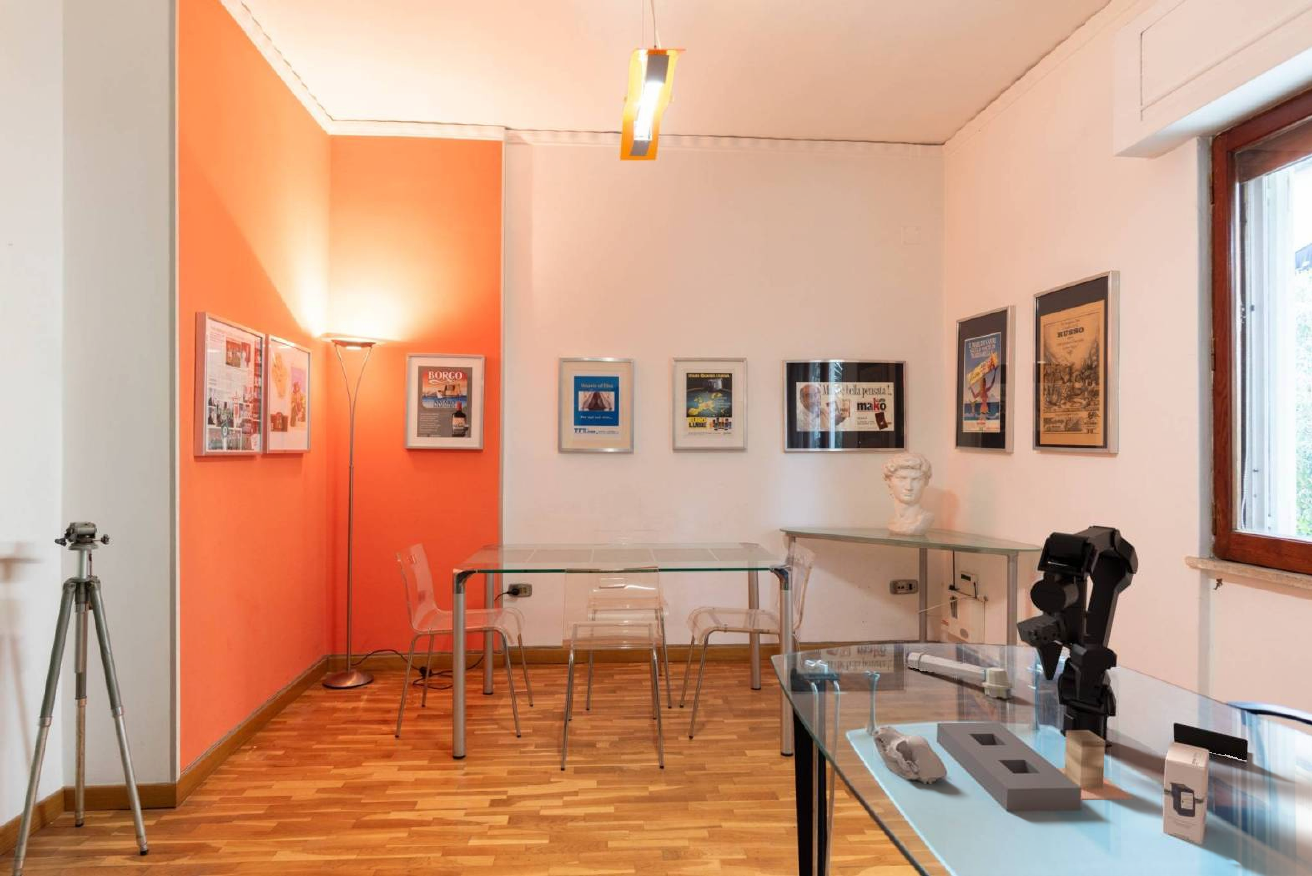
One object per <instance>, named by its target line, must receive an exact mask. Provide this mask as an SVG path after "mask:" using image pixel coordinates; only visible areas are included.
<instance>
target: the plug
mask: <svg viewBox="0 0 1312 876" xmlns="http://www.w3.org/2000/svg"><path fill="white" fill-rule="evenodd" d="M1105 750H1106V748H1105V740H1103V739H1102V738H1100V737H1099V736H1097V735H1096V734H1094V733H1093V732H1091V731H1089V730H1066V736H1065V759H1064V761H1065V762H1064V768H1065V775H1066V776H1067V777H1068V778H1070V779H1071V780H1072V781H1073V782H1075V783H1076V784H1077V785H1079V786H1080V787H1081V789H1095V788H1103V776H1104V775H1105V774H1104V773H1105V772H1104V771H1105V770H1104V769H1105Z"/></svg>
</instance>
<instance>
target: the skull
mask: <svg viewBox="0 0 1312 876" xmlns="http://www.w3.org/2000/svg"><path fill="white" fill-rule="evenodd" d="M872 734H873V735H872V736H873V741H874V744H875V747H876V750H877V752H878V754H879V755H880V758H881V759H882V761H883V762H884V764H885V765H886V767H887V768H888V769H889V770H890V771H891V772H892V773H894V774H896V775H898V776H899V777H901V778H903V779H905V780H908V781H909V780H914V781H915V780H916V781H920V782H921V783H923V784H925V785H926V784H927V783H928V784H929V785H932V784H933V782H936V781H938V779H940V778H945V777H946V776H948V771H947V768H946V765H945V763H944V762H943V760H942V759H941V758H940V756H939V755H938V754H937V753H936V752H935V751H934V750H933V749H932V747H931V745H930V743H929V740H927V739H926V738H925V737H923V736H922V735H921V734H920V735H919V734H905V733H903V732H901V731H898V730H897V729H896V728H893V727H892V726H890V725H888V726H882V725H881V726H879V727H876V728H875V729H874V731H873V733H872Z"/></svg>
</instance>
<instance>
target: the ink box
mask: <svg viewBox="0 0 1312 876" xmlns="http://www.w3.org/2000/svg"><path fill="white" fill-rule="evenodd" d="M1209 763H1210V754H1209V750H1207V749H1204V748H1199V747H1195V746H1190V745H1186V744H1181V743H1177V742H1174V741H1171V742H1170V744H1169V747H1168V751H1167V754H1166V757H1165V762H1164V780H1163V781H1164V784H1163V804H1162V805H1163V806H1162V807H1163V808H1162V833H1163V834H1166V835H1169V836H1173V837H1175V838H1179V839H1183V840H1185V841H1188V842H1191V843H1193V844H1197V845H1203V841H1204V836H1205V829H1206V825H1207V823H1206V822H1207V820H1206V819H1207V809H1208V808H1207V807H1208V790H1209V789H1208V787H1209V767H1210V765H1209Z"/></svg>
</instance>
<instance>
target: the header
mask: <svg viewBox="0 0 1312 876" xmlns="http://www.w3.org/2000/svg"><path fill="white" fill-rule="evenodd" d="M936 726H937V728H936V729H937V730H936V743H937V744H939V745H940V746H941V747H942V749H943V750H945V752H947V754H948V755H949V756H951V757H952V758H953V759H954V760H955V762H957V764H959V765H960V767H961V768H963V770H965V772H966V773H967V774H969V775H970V777H972V778H973V779H974V780H975V781H976V782H977V784H979V785H980V786H981V787H982V788H983V790H985V792H987V794H989V795H990V796H991V797H992V798H993V800H994V801H996V803H998V804H999V805H1000V806H1001V807H1002V808H1003V809H1004V810H1005V812H1030V811H1031V812H1032V811H1033V812H1035V811H1036V812H1037V811H1039V812H1042V811H1081V808H1082V807H1081V804H1082V803H1081V802H1082V800H1081V787H1080V786H1079V785H1077V784H1076V783H1075V782H1073V781H1072V780H1071V779H1070V778H1068V777H1067V776H1066V775H1065V774H1063V773H1062V772H1061V771H1060V770H1058V769H1057V767H1056V766H1054V765H1053V764H1052V763H1051V762H1050V761H1048V760H1047V759H1046V758H1045V757H1043V756H1042V755H1041V754H1040V753H1038V752H1037V751H1036V750H1035V749H1033V748H1032V747H1030V745H1028V744H1027V743H1025V742H1024V741H1023V740H1021V739H1020V737H1018V736H1017V735H1015V734H1014V733H1013V732H1012V731H1011V730H1009V729H1008V728H1007V727H1005V726H1004V725H1003V724H1001V722H937V723H936Z"/></svg>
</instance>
